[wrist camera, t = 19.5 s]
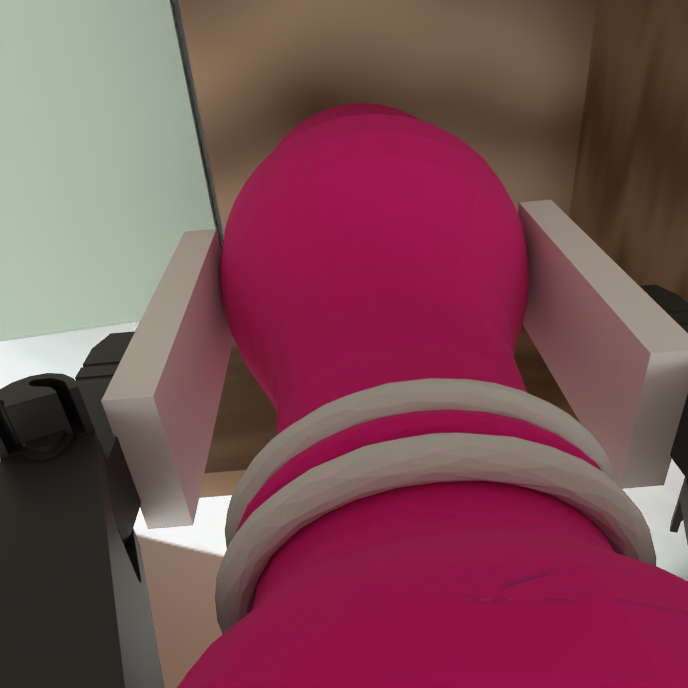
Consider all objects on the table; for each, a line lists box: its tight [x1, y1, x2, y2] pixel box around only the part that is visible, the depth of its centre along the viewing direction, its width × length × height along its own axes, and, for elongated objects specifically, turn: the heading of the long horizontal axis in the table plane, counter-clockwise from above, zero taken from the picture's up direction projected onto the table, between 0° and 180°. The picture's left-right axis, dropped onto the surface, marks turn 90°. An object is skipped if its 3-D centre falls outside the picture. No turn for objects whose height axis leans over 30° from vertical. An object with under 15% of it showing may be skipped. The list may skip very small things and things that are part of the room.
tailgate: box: [0, 0, 222, 341], centre depth 27 cm, size 17×2×12 cm
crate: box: [178, 0, 688, 498], centre depth 23 cm, size 20×20×14 cm
